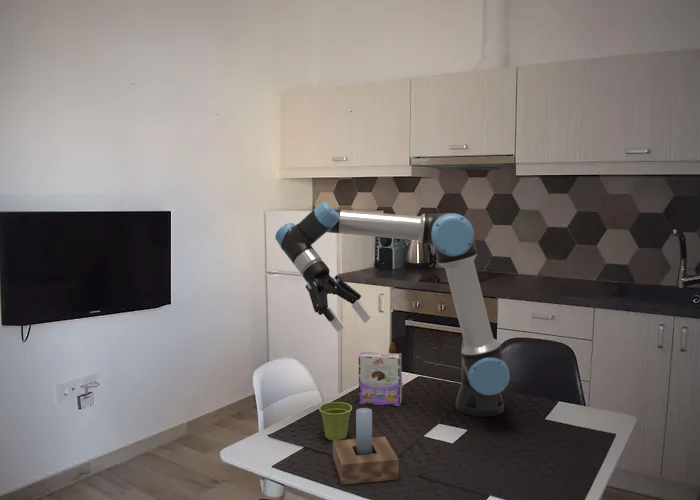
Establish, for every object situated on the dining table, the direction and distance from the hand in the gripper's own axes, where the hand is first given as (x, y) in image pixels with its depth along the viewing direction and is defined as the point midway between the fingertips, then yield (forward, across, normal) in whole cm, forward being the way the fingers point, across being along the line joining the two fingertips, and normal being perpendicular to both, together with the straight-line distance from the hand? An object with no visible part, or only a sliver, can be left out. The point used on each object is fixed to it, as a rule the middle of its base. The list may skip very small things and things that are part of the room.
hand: (355, 324), depth 166 cm
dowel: (+32, +16, -13) cm, 38 cm away
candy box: (+17, -28, -29) cm, 44 cm away
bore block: (+32, +16, -14) cm, 39 cm away
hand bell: (+13, -45, -33) cm, 57 cm away
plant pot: (+20, +4, -26) cm, 33 cm away
